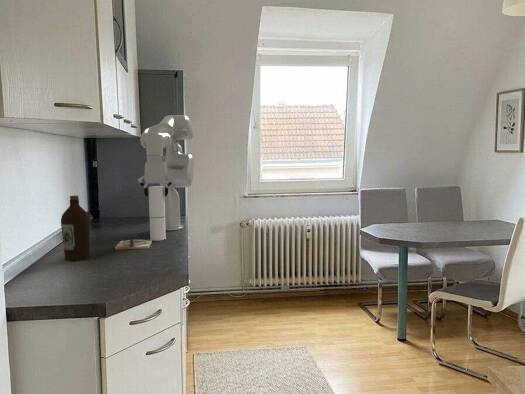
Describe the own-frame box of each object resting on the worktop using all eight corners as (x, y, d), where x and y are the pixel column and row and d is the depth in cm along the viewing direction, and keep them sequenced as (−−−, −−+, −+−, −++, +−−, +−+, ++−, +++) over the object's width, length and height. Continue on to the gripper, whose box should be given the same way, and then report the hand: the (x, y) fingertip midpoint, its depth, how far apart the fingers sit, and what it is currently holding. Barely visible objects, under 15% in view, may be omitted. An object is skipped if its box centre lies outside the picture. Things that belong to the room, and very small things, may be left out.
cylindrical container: (164, 237, 224) (163, 185, 221) (166, 240, 217) (164, 187, 215) (149, 238, 222) (147, 186, 219) (151, 241, 215) (148, 187, 212)
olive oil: (79, 253, 191) (76, 194, 189) (97, 256, 186) (94, 195, 183) (57, 259, 182) (53, 196, 179) (75, 262, 177) (71, 198, 174)
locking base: (121, 242, 212) (120, 234, 212) (152, 241, 214) (151, 233, 213) (114, 249, 198) (114, 240, 198) (148, 248, 200) (147, 239, 199)
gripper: (174, 158, 220) (175, 195, 222) (137, 159, 218) (138, 195, 220) (173, 159, 213) (174, 196, 215) (134, 159, 211) (136, 197, 213)
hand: (156, 196), depth 217 cm, fingers open, 8 cm apart
